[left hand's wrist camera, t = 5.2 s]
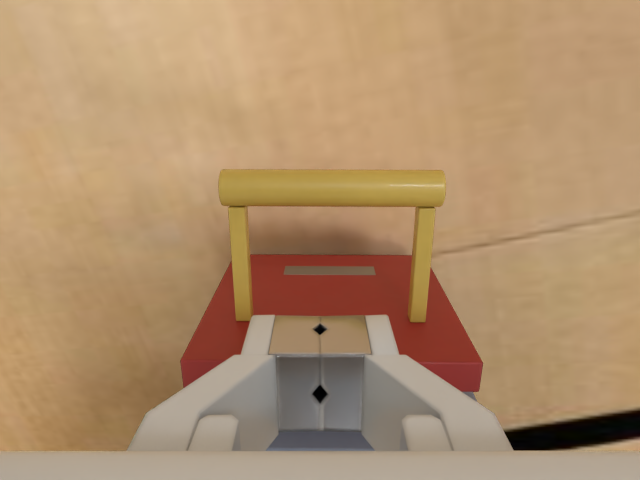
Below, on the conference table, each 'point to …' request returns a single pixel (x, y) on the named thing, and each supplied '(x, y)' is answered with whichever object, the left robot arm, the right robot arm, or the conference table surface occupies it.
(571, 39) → the conference table surface
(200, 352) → the drawer
